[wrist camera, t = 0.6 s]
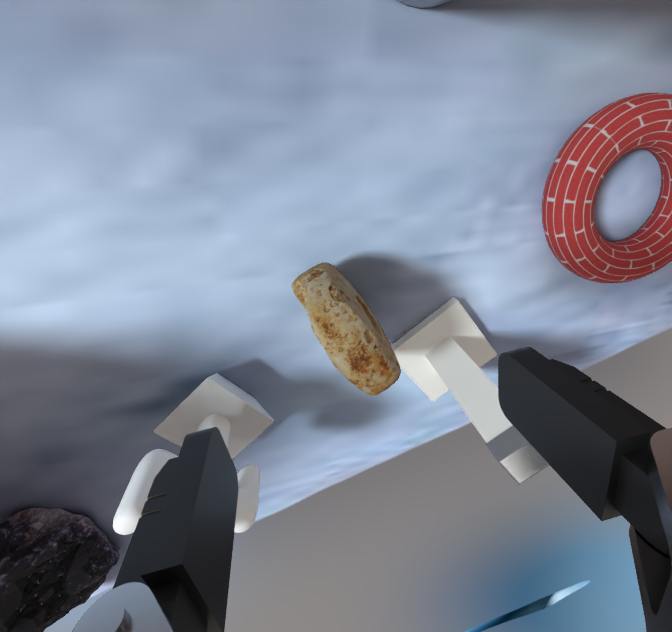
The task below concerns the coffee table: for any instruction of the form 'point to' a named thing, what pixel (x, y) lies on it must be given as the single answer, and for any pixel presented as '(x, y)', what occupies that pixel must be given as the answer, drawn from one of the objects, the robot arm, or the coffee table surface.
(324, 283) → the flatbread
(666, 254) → the torus
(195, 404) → the figurine
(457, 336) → the post
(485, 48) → the coffee table surface
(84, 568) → the black rough rounded lump
